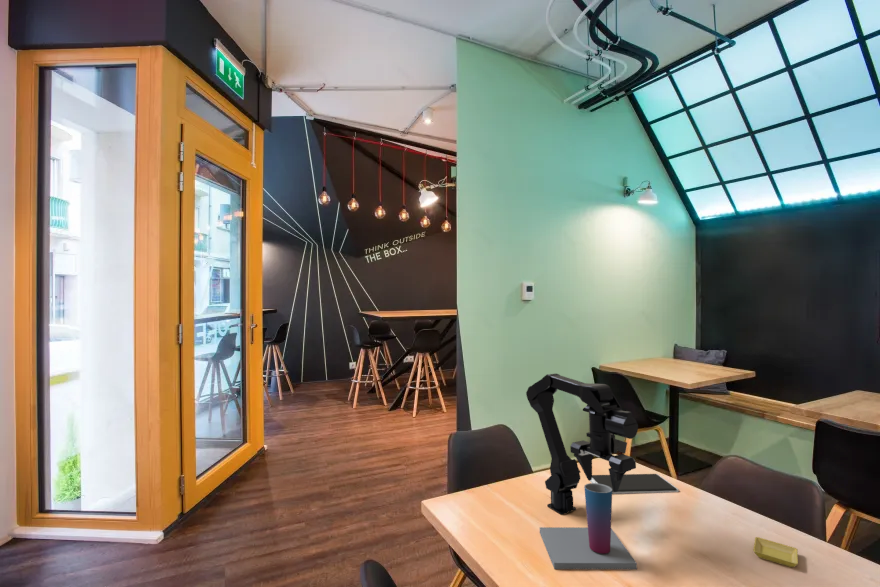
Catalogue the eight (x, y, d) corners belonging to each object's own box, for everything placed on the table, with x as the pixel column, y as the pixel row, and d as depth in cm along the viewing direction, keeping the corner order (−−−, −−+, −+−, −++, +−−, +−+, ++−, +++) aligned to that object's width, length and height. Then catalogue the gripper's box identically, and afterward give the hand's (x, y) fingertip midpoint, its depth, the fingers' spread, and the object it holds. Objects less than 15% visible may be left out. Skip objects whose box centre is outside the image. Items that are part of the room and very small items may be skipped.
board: (554, 569, 101) (554, 562, 101) (539, 532, 117) (539, 527, 117) (636, 569, 101) (636, 563, 101) (610, 532, 117) (610, 527, 117)
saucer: (755, 543, 112) (755, 535, 112) (797, 556, 106) (797, 548, 106) (753, 559, 105) (752, 550, 105) (798, 573, 100) (797, 564, 100)
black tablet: (679, 494, 142) (679, 489, 142) (602, 496, 140) (602, 490, 140) (657, 477, 155) (657, 473, 155) (586, 479, 154) (586, 474, 154)
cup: (608, 558, 102) (606, 495, 103) (581, 548, 106) (580, 488, 108) (617, 547, 107) (616, 487, 109) (591, 539, 112) (590, 481, 113)
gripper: (648, 433, 113) (651, 492, 112) (595, 418, 130) (597, 469, 129) (619, 440, 108) (622, 501, 108) (568, 423, 125) (570, 476, 124)
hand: (602, 485), depth 117 cm, fingers open, 9 cm apart
